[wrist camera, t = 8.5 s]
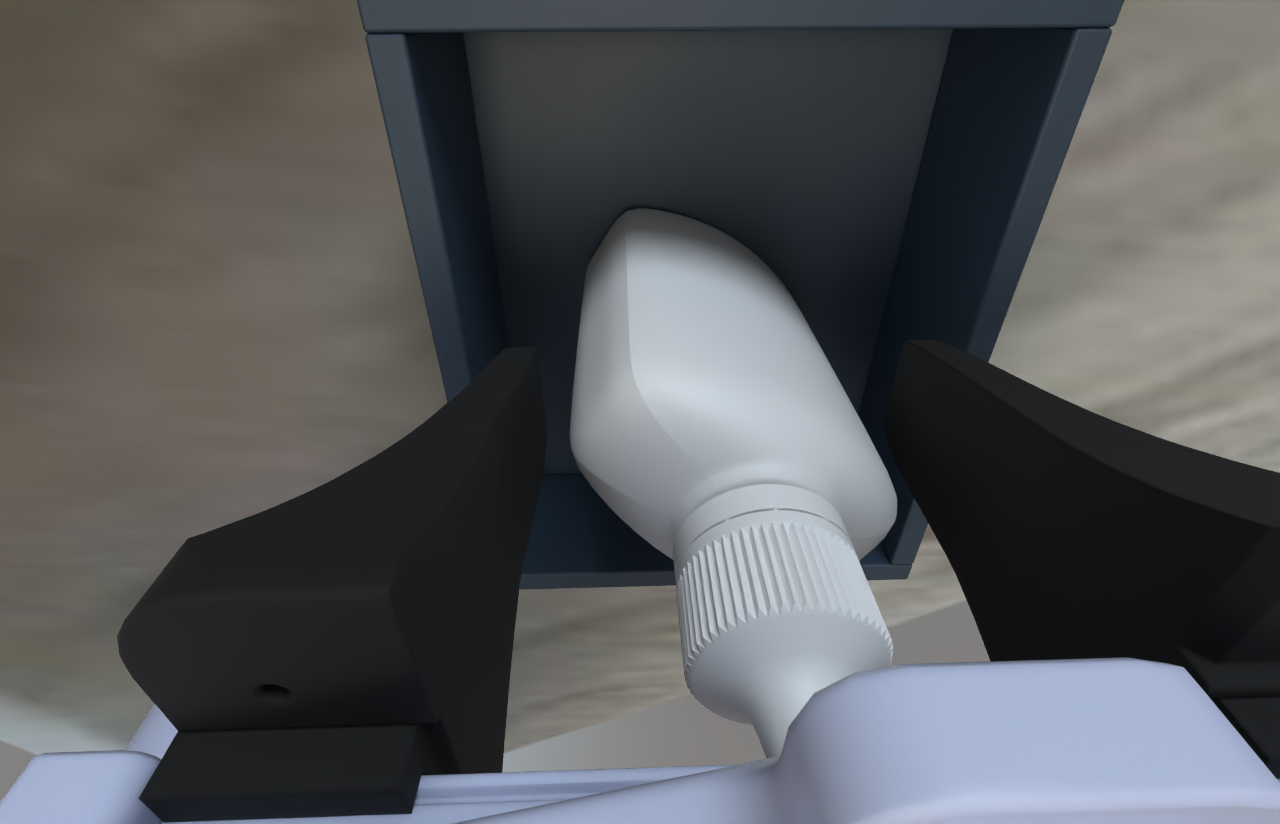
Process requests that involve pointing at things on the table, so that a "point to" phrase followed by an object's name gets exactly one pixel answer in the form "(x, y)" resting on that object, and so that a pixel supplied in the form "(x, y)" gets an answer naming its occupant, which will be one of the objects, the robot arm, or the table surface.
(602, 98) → the bin
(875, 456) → the eye dropper bottle
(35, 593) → the table surface
